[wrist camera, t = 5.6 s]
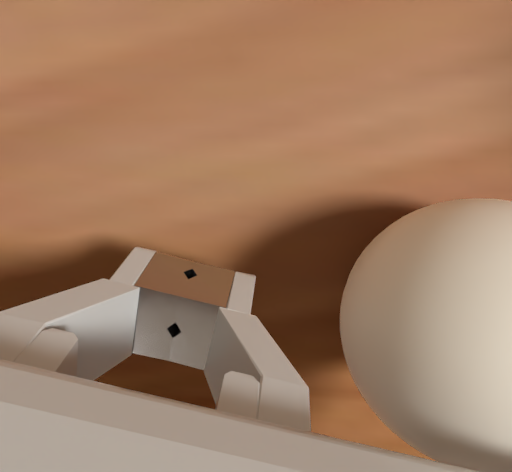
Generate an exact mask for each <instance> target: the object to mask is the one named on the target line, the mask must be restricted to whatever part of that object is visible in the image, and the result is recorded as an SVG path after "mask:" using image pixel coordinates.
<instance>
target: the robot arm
mask: <svg viewBox="0 0 512 472" xmlns="http://www.w3.org/2000/svg"><path fill="white" fill-rule="evenodd" d="M234 274H235V275H234ZM255 280H256V276H255V275H252V274H247V273H243V272H238V271H236V272H235V271H233V270H229V269H224V268H220V267H215V266H211V265H206V264H202V263H197V262H195V261H191V260H188V259H184V258H180V257H176V256H173V255H169V254H165V253H161V252H157V251H155V250H151V249H146V248H142V247H135V248H134V249H133V250H132V251H131V252H130V254H129V255H128V256H127V257H126V259H125V260H124V261H123V263H122V264H121V265H120V266H119V268H118V269H117V270H116V271H115V273H114V274H113V275H112V277H111V278H110V279H109V280H108V279H99V280H96V281H93V282H90V283H87V284H84V285H81V286H78V287H75V288H72V289H68V290H65V291H62V292H59V293H56V294H53V295H50V296H47V297H44V298H41V299H37V300H34V301H31V302H28V303H25V304H22V305H19V306H16V307H13V308H10V309H6V310H3V311H0V472H479V471H475V470H471V469H467V468H462V467H458V466H454V465H450V464H445V463H441V462H437V461H432V460H428V459H424V458H420V457H415V456H411V455H407V454H403V453H398V452H394V451H390V450H386V449H381V448H377V447H373V446H369V445H364V444H360V443H356V442H352V441H347V440H343V439H339V438H334V437H330V436H326V435H322V434H317V433H313V432H311V420H310V401H309V388H308V386H307V385H306V383H305V382H304V381H303V379H302V378H301V377H300V375H299V374H298V372H297V371H296V370H295V368H294V367H293V366H292V364H291V363H290V361H289V360H288V359H287V357H286V356H285V355H284V353H283V352H282V350H281V349H280V348H279V346H278V345H277V344H276V342H275V341H274V339H273V338H272V337H271V335H270V334H269V333H268V331H267V330H266V329H265V327H264V326H263V324H262V323H261V322H260V320H259V319H258V318H257V316H255V315H251V308H252V301H253V294H254V287H255ZM229 294H230V295H229ZM132 353H134V354H139V355H143V356H148V357H153V358H158V359H162V360H167V361H171V362H175V363H179V364H182V365H186V366H190V367H194V368H197V369H201V370H204V374H205V377H206V379H207V382H208V385H209V388H210V390H211V393H212V396H213V398H214V401H215V404H216V407H215V409H211V408H207V407H202V406H198V405H194V404H190V403H185V402H181V401H177V400H173V399H168V398H164V397H160V396H156V395H151V394H147V393H143V392H138V391H134V390H130V389H126V388H121V387H117V386H113V385H109V384H105V383H100V382H96V381H94V380H95V379H97V378H98V377H100V376H101V375H103V374H104V373H106V372H107V371H109V370H110V369H112V368H113V367H115V366H116V365H117V364H119V363H120V362H122V361H123V360H125V359H126V358H128V357H129V356H131V355H132Z"/></svg>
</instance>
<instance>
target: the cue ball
mask: <svg viewBox="0 0 512 472" xmlns="http://www.w3.org/2000/svg"><path fill="white" fill-rule="evenodd" d="M340 335H341V341H342V347H343V352H344V356H345V359H346V363H347V366H348V369H349V371H350V373H351V376H352V378H353V380H354V382H355V384H356V386H357V388H358V390H359V392H360V393H361V395H362V396H363V398H364V399H365V401H366V402H367V404H368V405H369V407H370V408H371V409H372V410H373V412H374V413H375V414H376V415H377V416H378V418H379V419H380V420H381V421H382V422H383V423H384V424H385V425H386V426H387V427H388V428H389V429H390V430H391V431H392V432H393V433H395V434H396V435H397V436H398V437H400V438H401V439H402V440H403V441H405V442H406V443H407V444H409V445H410V446H412V447H413V448H415V449H416V450H418V451H419V452H421V453H423V454H424V455H426V456H428V457H430V458H432V459H434V460H436V461H438V462H441V463H445V464H450V465H454V466H458V467H462V468H467V469H471V470H475V471H479V472H512V201H507V200H501V199H489V198H470V199H457V200H450V201H445V202H440V203H436V204H432V205H429V206H426V207H423V208H420V209H418V210H416V211H413V212H411V213H409V214H407V215H405V216H403V217H401V218H400V219H398V220H397V221H395V222H394V223H392V224H390V225H389V226H388V227H387V228H386V229H384V230H383V231H382V232H381V233H380V234H378V235H377V236H376V237H375V238H374V239H373V240H372V241H371V242H370V243H369V244H368V246H367V247H366V248H365V249H364V250H363V252H362V253H361V255H360V256H359V258H358V259H357V260H356V262H355V264H354V266H353V268H352V270H351V272H350V274H349V277H348V280H347V283H346V285H345V288H344V291H343V296H342V301H341V307H340Z"/></svg>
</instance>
